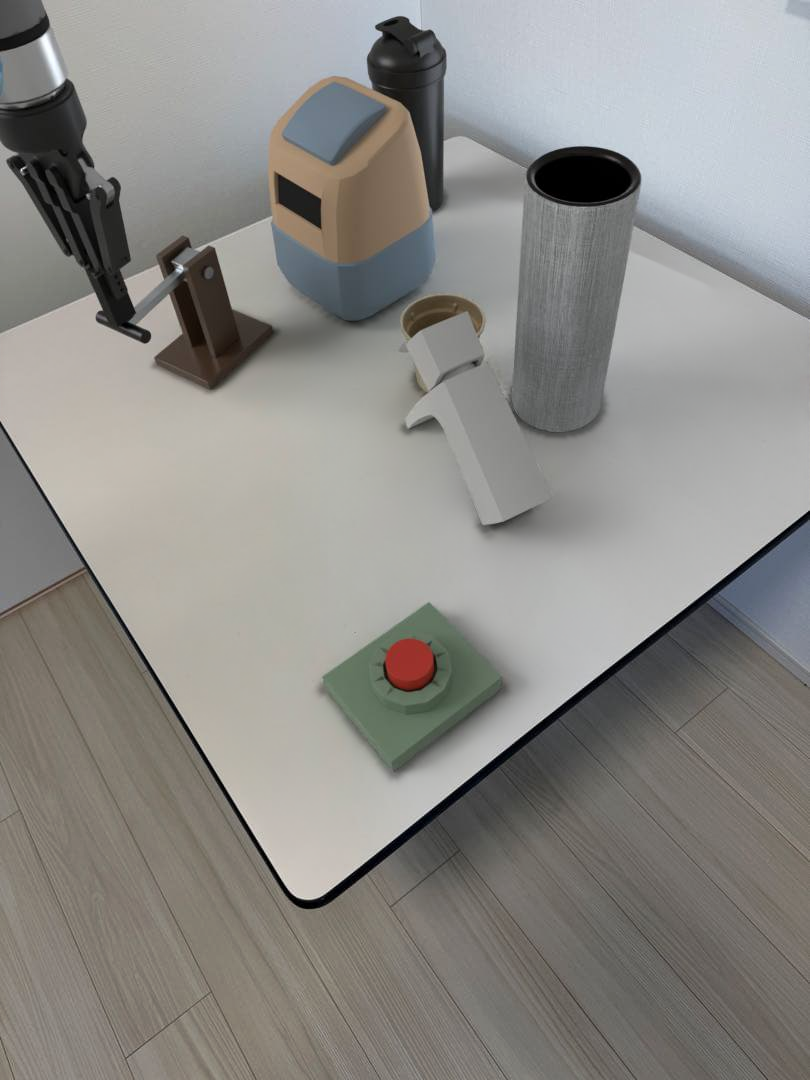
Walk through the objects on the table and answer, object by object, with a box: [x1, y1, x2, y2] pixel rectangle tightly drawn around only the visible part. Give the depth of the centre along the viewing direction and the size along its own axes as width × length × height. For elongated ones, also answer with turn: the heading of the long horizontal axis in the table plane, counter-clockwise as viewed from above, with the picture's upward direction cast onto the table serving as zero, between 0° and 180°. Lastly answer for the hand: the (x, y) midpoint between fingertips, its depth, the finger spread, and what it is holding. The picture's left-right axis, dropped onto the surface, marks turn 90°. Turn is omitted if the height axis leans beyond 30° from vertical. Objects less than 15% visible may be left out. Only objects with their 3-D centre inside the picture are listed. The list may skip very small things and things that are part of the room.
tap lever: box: [95, 247, 201, 345], centre depth 90 cm, size 13×7×2 cm, turn 146°
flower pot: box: [399, 292, 487, 394], centre depth 92 cm, size 9×9×9 cm
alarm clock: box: [267, 75, 436, 321], centre depth 99 cm, size 17×17×23 cm
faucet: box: [397, 311, 555, 526], centre depth 84 cm, size 6×16×20 cm
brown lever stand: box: [153, 235, 274, 390], centre depth 96 cm, size 12×9×14 cm
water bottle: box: [366, 15, 448, 213], centre depth 110 cm, size 10×10×23 cm
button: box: [385, 638, 434, 690], centre depth 69 cm, size 4×4×2 cm
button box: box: [321, 601, 503, 773], centre depth 71 cm, size 12×10×4 cm
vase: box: [511, 145, 643, 433], centre depth 82 cm, size 10×10×27 cm
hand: (122, 317), depth 87 cm, fingers closed
